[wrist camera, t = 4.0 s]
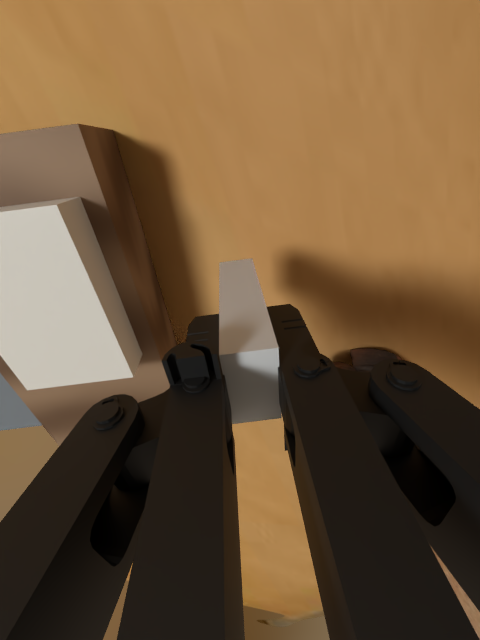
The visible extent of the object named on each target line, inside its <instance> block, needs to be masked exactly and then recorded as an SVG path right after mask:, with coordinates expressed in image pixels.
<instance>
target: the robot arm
mask: <svg viewBox="0 0 480 640" xmlns="http://www.w3.org/2000/svg"><path fill="white" fill-rule="evenodd" d="M161 362H162V364H163V367H164V370H165V373H166V376H167V379H168V381H169V384H170V388H169V389H168V390H166V391H165V392H163V393H161V394H159V395H157V396H154V397H152V398H149V399H147V400H144V401H141V402H139V403H138V402H137V401H136V400H135V399H134V398H133V397H132V396H130V395H126V394H119V395H112V396H110V397H107V398H104V399H102V400H101V401H99V402H98V403H96V404H94V405H93V406H92V407H91V408H90V409H89V410H88V411H87V412H86V413H85V414H84V415H83V416H82V418H81V419H80V420H79V422H78V423H77V424H76V425H75V427H74V428H73V429H72V431H71V432H70V433H69V434H68V436H67V437H66V438H65V440H64V441H63V442H62V443H61V445H60V446H59V448H58V449H57V450H56V451H55V453H54V454H53V455H52V456H51V458H50V459H49V460H48V462H47V463H46V464H45V466H44V467H43V468H42V469H41V471H40V472H39V473H38V474H37V476H36V477H35V478H34V480H33V481H32V482H31V484H30V485H29V486H28V487H27V489H26V490H25V491H24V493H23V494H22V495H21V496H20V498H19V499H18V500H17V502H16V503H15V504H14V506H13V507H12V508H11V509H10V511H9V512H8V513H7V514H6V516H5V517H4V518H3V520H2V521H1V522H0V640H103V637H104V635H105V632H106V630H107V627H108V625H109V622H110V619H111V617H112V614H113V612H114V609H115V606H116V604H117V601H118V599H119V596H120V594H121V591H122V589H123V586H124V583H125V581H126V578H127V576H128V573H129V571H130V568H131V565H132V563H133V565H132V569H131V574H130V579H129V584H128V589H127V593H126V599H125V603H124V608H123V613H122V618H121V623H120V627H119V631H118V636H117V640H245V636H244V616H243V597H242V578H241V559H240V540H239V520H238V501H237V482H236V463H235V443H234V437H233V432H232V424H236V423H244V422H252V421H260V420H268V419H276V418H281V412H282V417H283V421H284V438H285V450H288V453H289V458H290V462H291V467H292V471H293V476H294V480H295V485H296V489H297V494H298V498H299V503H300V507H301V512H302V516H303V521H304V525H305V530H306V534H307V539H308V543H309V548H310V552H311V557H312V561H313V566H314V570H315V575H316V579H317V584H318V588H319V593H320V597H321V602H322V606H323V611H324V615H325V619H326V624H327V629H328V633H329V638H330V640H480V639H479V637H478V635H477V633H476V632H475V630H474V628H473V626H472V624H471V622H470V620H469V618H468V616H467V615H466V613H465V611H464V609H463V607H462V605H461V603H460V601H459V599H458V598H457V596H456V594H455V592H454V590H453V588H452V586H451V584H450V582H449V581H448V579H447V577H446V575H445V573H444V571H443V569H442V567H441V565H440V563H439V562H438V560H437V558H436V556H435V554H434V552H433V550H434V551H435V553H436V554H437V555H438V557H439V558H440V559H441V561H442V562H443V563H444V565H445V566H446V567H447V569H448V570H449V571H450V573H451V574H452V576H453V577H454V578H455V580H456V581H457V582H458V584H459V585H460V586H461V588H462V589H463V590H464V592H465V593H466V594H467V596H468V597H469V598H470V600H471V601H472V602H473V604H474V605H475V606H476V608H477V609H478V611H479V612H480V409H478V408H477V407H475V406H474V405H473V404H471V403H470V402H469V401H467V400H466V399H465V398H463V397H462V396H461V395H459V394H458V393H457V392H455V391H454V390H453V389H451V388H450V387H449V386H447V385H446V384H445V383H443V382H442V381H440V380H439V379H438V378H436V377H435V376H434V375H432V374H431V373H430V372H428V371H427V370H425V369H424V368H422V367H420V366H418V365H417V364H414V363H411V362H408V361H405V360H398V359H388V360H382V361H380V362H378V363H376V364H375V365H374V366H373V368H372V370H371V373H368V372H359V371H350V370H345V369H341V368H338V367H335V365H334V364H333V362H332V361H331V360H330V359H329V358H327V357H326V356H324V355H322V354H320V353H319V351H318V349H317V347H316V345H315V343H314V341H313V339H312V336H311V334H310V332H309V330H308V328H307V327H306V324H305V322H304V320H303V318H302V316H301V314H300V312H299V310H298V309H296V308H295V307H293V306H292V305H290V304H286V305H278V306H270V307H266V304H265V300H264V297H263V293H262V290H261V287H260V283H259V280H258V277H257V273H256V270H255V266H254V263H253V260H252V259H244V260H236V261H228V262H220V273H219V314H214V315H206V316H198V317H195V318H194V320H193V321H192V322H191V323H190V324H189V327H188V333H187V338H186V342H184V343H181V344H179V345H177V346H175V347H173V348H171V349H170V350H169V351H168V352H167V353H166V354H165V355H164V357H163V359H162V361H161ZM431 547H432V548H431ZM432 549H433V550H432Z"/></svg>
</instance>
